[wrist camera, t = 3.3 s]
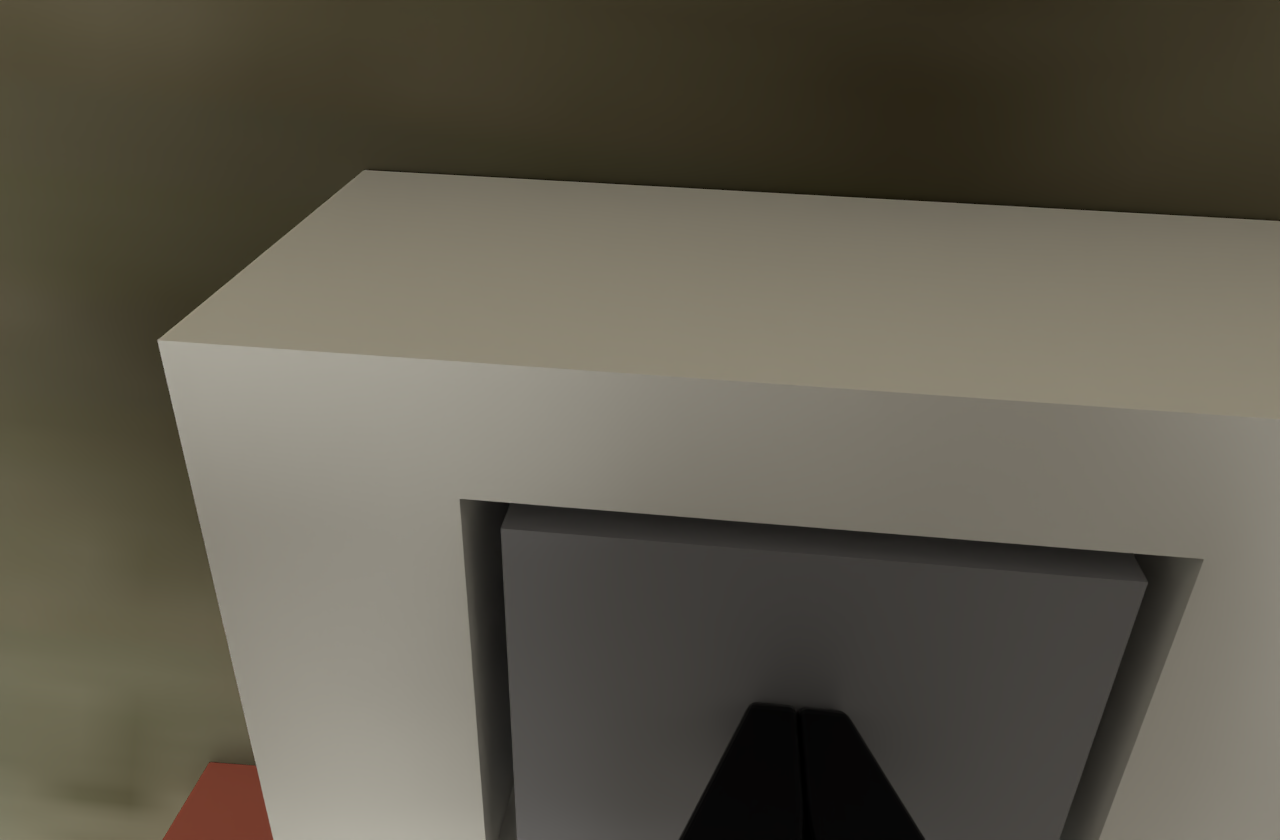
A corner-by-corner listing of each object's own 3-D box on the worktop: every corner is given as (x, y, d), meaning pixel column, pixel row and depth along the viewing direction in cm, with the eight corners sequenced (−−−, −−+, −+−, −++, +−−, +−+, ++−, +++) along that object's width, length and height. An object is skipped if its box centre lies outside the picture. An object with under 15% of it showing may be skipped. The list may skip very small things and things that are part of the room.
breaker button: (1051, 396, 10) (1148, 583, 8) (977, 687, 12) (1033, 913, 10) (563, 362, 11) (500, 527, 8) (567, 649, 13) (518, 856, 10)
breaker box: (1295, 221, 11) (1604, 441, 7) (1121, 708, 14) (1258, 1039, 10) (364, 170, 11) (158, 340, 8) (416, 643, 15) (293, 927, 11)
